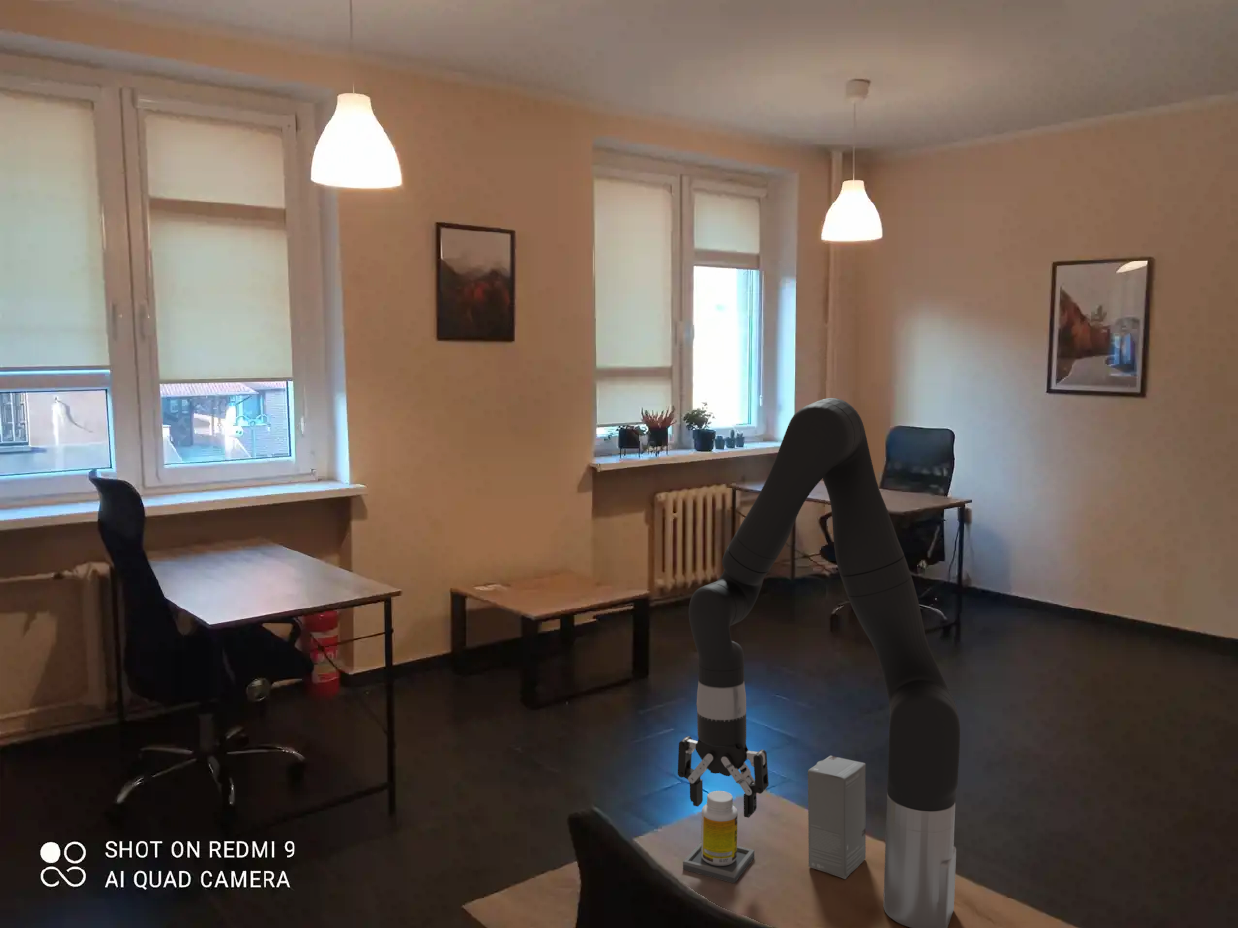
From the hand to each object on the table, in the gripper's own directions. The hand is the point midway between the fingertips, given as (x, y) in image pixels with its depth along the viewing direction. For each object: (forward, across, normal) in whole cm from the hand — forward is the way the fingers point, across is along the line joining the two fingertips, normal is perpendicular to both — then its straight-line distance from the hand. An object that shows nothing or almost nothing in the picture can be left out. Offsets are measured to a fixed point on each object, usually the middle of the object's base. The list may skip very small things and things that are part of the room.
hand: (722, 809), depth 151 cm
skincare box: (+9, -15, -9) cm, 20 cm away
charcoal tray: (+9, 0, 0) cm, 9 cm away
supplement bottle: (+8, 0, +1) cm, 8 cm away
